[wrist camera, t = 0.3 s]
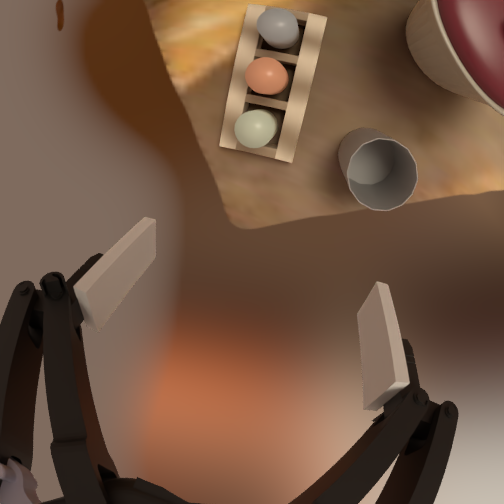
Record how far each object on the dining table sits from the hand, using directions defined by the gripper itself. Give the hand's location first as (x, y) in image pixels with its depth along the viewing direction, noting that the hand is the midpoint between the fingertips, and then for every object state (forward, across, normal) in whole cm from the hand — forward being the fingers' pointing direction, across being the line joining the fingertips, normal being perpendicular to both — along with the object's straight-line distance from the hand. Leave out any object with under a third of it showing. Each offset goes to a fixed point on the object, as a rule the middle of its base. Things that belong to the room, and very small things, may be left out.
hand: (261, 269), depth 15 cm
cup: (+27, +10, +4) cm, 29 cm away
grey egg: (+24, -5, +17) cm, 30 cm away
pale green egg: (+23, -5, +4) cm, 24 cm away
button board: (+27, -5, +10) cm, 29 cm away
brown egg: (+24, -5, +11) cm, 26 cm away
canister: (+27, +17, +25) cm, 40 cm away
